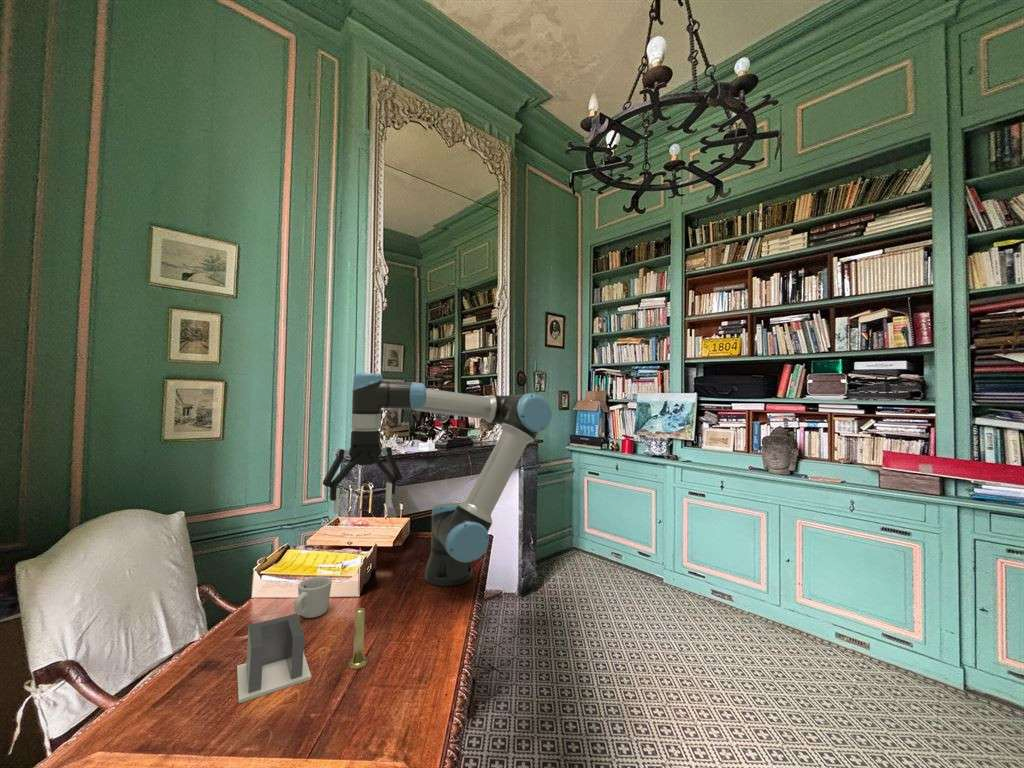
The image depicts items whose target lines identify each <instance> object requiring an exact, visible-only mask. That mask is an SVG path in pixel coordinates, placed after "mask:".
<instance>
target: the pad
mask: <svg viewBox="0 0 1024 768" xmlns="http://www.w3.org/2000/svg"><path fill="white" fill-rule="evenodd" d="M236 670H237V671H236V673H237V676H236V677H237V695H238V696H237V698H238V704H241V703H245V702H247V701H251V700H253V699H256V698H259V697H263V696H265V695H268V694H271V693H274V692H277V691H280V690H283V689H284V690H285V689H287V688H290V687H293V686H296V685H298V684H301V683H305V682H308V681H310V680H312V674H311V671H310V668H309V664H308V662H307V659H306V656H305V651H303V670H302V676H301V677H297V678H294V679H291V678H290V674H289V669H288V665H287V661H286V659H284V660H280V661H277V662H274V663H270V664H267V665H264V666H262V681H261V690H257V691H254V692H251V693H248V680H247V667H246V662H245V663H242V664H237V666H236Z"/></svg>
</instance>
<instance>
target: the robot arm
mask: <svg viewBox="0 0 1024 768" xmlns="http://www.w3.org/2000/svg"><path fill="white" fill-rule="evenodd" d="M351 402H352V403H351V404H352V407H351V411H352V412H351V427H350V428H351V429H352V431H351V433H350V447H349V449H343V448H338V449H337V451H336V452H337V453H336V457H335V459H334V460H333V463H332V464H331V466H330V468H329V470H328V472H327V474H326V475H325V477H324V479H323V480H322V485H324V486H325V487H328V488H330V489H329V499H330V501H332V502H333V513H334V515H339V514H340V495H341V493H340V491H341V488H340V487H339V485H340V484H341V482H343V480H344V479H345V478H346V477H347V476H348V474H349V473H350V472H351V471H352V470H353V468H356V467H357V465H358V466H364V465H367V466H368V465H369V466H370V465H373V464H374V465H375V467H377V468H378V469H379V470H380V473H382V475H384V476H385V478H386V479H387V480H388V481H386V483H385V503H384V504H385V506H386V507H387V508H392V500H393V499H392V495H394V494H395V492H396V483H397V482H398V481H401V480H402V479H403V476H402V473H401V471H400V469H399V467H398V465H397V463H396V462H397V461H396V460H395V459H394V457H393V449H392V447H389V446H385V447H382V448H381V431H380V429H381V428H382V427H381V426H382V409H395V410H398V409H400V410H407V411H408V410H409V411H416V412H424V413H433V414H439V415H441V414H442V415H449V416H457V417H465V418H472V419H473V418H474V419H481V420H485V421H486V422H487V423H489V424H496V425H500V427H501V429H502V432H501V434H500V436H499V438H498V440H497V441H496V444H495V445H494V447H493V448H492V449H493V450H492V451H491V453H490V454H489V456H488V458H487V461H486V462H485V464H484V466H483V468H482V470H481V472H480V474H479V475H478V478H477V480H476V481H475V483H474V485H473V487H472V489H471V491H470V493H469V494H468V497H467V498H466V500H464V501H462V502H451V503H448V502H447V503H440V504H436V505H435V506H433V507H432V511H431V538H430V539H431V541H430V543H431V545H430V549H431V550H430V555H429V558H428V560H427V563H426V567H425V571H424V580H425V581H426V582H427V583H428V584H430V585H433V586H437V587H454V586H459V585H463V584H465V582H466V583H467V581H468V580H469V581H471V579H472V578H473V566H472V563H471V562H474V561H476V560H479V559H480V558H481V557H482V556H483V555H484V553H485V552H486V551H487V549H488V548H489V547H488V546H489V541H490V537H489V533H488V532H489V531H490V528H491V526H492V525H493V518H492V513H493V511H494V510H495V507H496V506H497V503H498V502H499V500H500V497H501V496H502V493H503V491H504V489H505V488H506V486H507V484H508V482H509V480H510V478H511V476H512V474H513V473H514V470H515V468H516V466H517V464H518V462H519V461H520V459H521V456H522V454H523V453H524V450H525V449H526V447H527V445H528V444H530V443H534V441H535V440H536V439H537V435H538V434H539V433H540V432H541V431H543V430H545V429H546V428H548V426H549V425H550V423H551V421H552V409H551V405H550V403H549V401H548V400H547V399H546V397H544V396H542V395H541V394H536V393H531V392H530V393H529V392H527V393H522V394H519V393H518V394H509V395H495V394H490V395H489V396H482V395H476V394H468V393H462V392H455V391H448V390H439V389H433V388H427V387H426V385H425V384H424V383H422V382H415V381H410V382H409V381H387V380H384V379H383V375H382V374H381V373H378V372H377V373H375V372H358V373H356V374H355V375H354V376H353V385H352V401H351ZM381 454H382V455H383V456H385V459H386V461H387V462H388V464H389V467H390V469H391V472H392V473H393V474H392V473H391V472H390V471H389V470H388V469H387V467H386V466H385V464H383V462H382V461H381V459H380V458H379V457H380V455H381ZM347 456H350V460H349V461H347V463H346V464H345V466H344V467H343V468H342V470H340V472H338V474H337V471H338V469H339V467H341V464H342V462H343V460H344V459H345V458H346V457H347ZM336 474H337V475H336ZM335 475H336V476H335ZM471 577H472V578H471ZM469 581H468V582H469Z"/></svg>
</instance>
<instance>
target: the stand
mask: <svg viewBox="0 0 1024 768" xmlns="http://www.w3.org/2000/svg"><path fill="white" fill-rule="evenodd" d="M365 614H366V608H364V607H358V608H356V609H355V610H354V625H353V626H354V629H353V649H352V651H353V652H352V654H353V655H352V658H351V659H349V660H348V667H349V669H352V670H359V669H363V667H365V666H366V665H367V664H368V657H366V656H365V655H364V645H365V643H364V641H365V619H366V618H365Z"/></svg>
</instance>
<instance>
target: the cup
mask: <svg viewBox="0 0 1024 768" xmlns="http://www.w3.org/2000/svg"><path fill="white" fill-rule="evenodd" d="M332 583H333V582H332V579H331V578H330V577H329V576H322V575H321V576H320V575H319V576H313V577H308V578H305V579H303V580H302V581H300V582H299V583H298V585H297V592H298V593H297V594H298V596H297V597H296V599H295V602H294V606H293V607H294V609H293V610H294V614H297V615H298V616H301V617H303V618H305V619H314V618H318V617H320V616H322V615H324V614H325V613H326V612H327V611H328V608H329V603H330V602H329V601H330V595H331V590H332V589H331V588H332Z"/></svg>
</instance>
